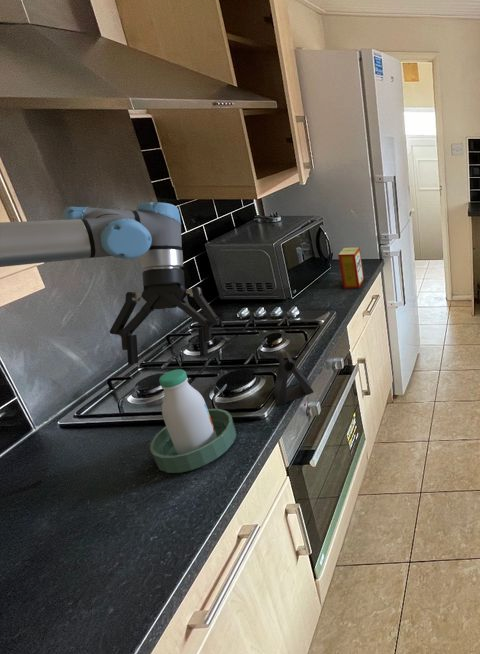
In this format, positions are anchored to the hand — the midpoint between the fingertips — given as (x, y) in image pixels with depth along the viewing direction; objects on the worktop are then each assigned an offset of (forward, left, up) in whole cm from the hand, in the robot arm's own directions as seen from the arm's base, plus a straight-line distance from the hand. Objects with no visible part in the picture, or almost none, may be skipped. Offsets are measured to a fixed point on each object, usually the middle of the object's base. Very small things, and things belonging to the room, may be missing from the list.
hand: (169, 359), depth 97 cm
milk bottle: (+4, -10, -19) cm, 21 cm away
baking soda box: (+36, +80, -19) cm, 89 cm away
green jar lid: (+4, -10, -19) cm, 22 cm away
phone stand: (+22, +5, -19) cm, 30 cm away
